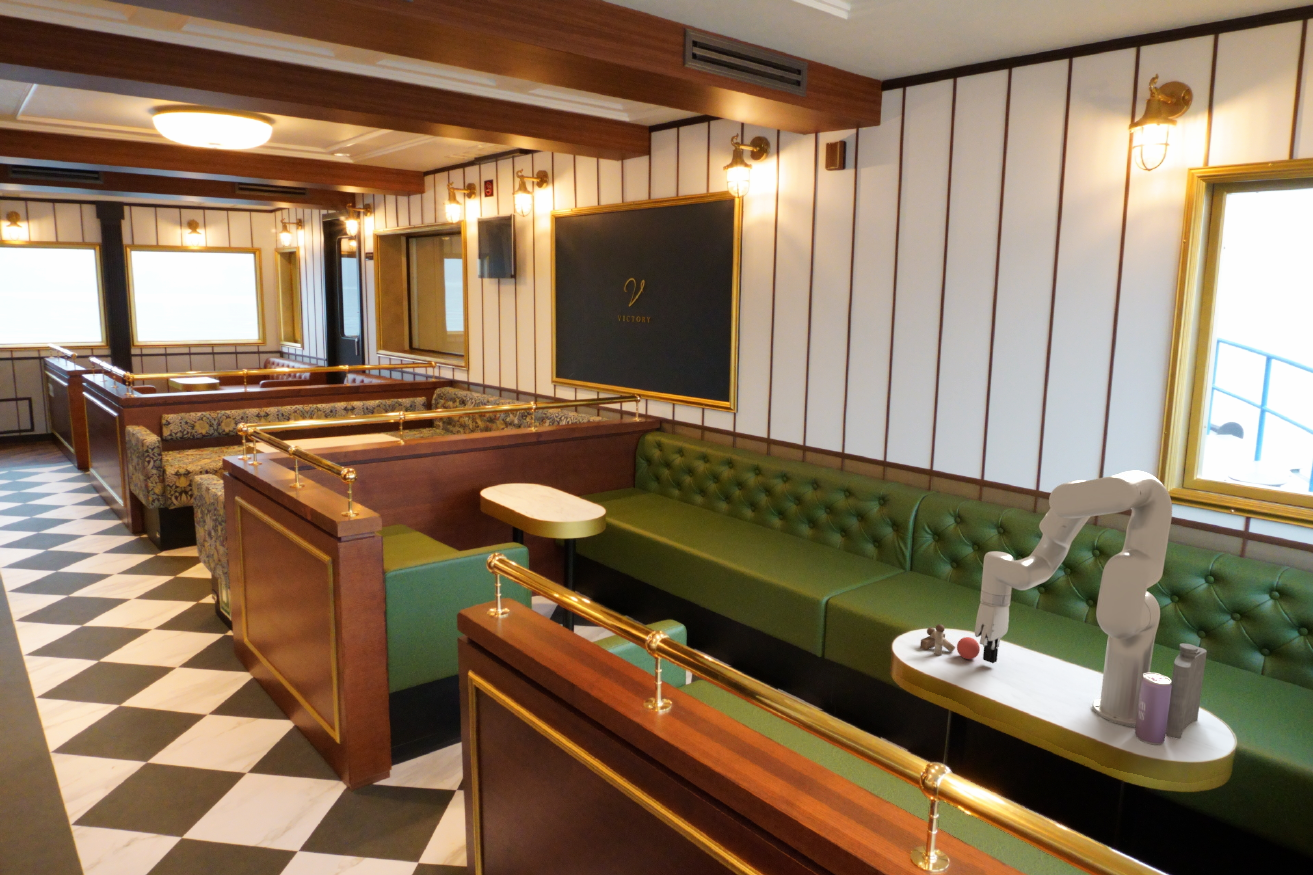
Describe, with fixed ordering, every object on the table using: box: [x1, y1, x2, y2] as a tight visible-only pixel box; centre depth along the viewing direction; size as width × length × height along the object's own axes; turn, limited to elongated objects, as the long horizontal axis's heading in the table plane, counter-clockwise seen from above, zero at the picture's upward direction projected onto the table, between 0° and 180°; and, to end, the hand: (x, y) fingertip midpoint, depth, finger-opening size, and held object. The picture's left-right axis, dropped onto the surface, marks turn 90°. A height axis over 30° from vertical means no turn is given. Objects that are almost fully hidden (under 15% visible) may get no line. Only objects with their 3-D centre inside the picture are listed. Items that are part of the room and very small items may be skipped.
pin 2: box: [926, 627, 956, 653], centre depth 235 cm, size 2×2×9 cm
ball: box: [956, 636, 981, 660], centre depth 229 cm, size 6×6×6 cm
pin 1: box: [933, 623, 945, 657], centre depth 231 cm, size 2×2×9 cm
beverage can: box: [1134, 672, 1172, 746], centre depth 186 cm, size 6×6×15 cm
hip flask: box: [1165, 642, 1207, 739], centre depth 193 cm, size 16×4×20 cm, turn 132°
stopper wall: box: [919, 632, 946, 651], centre depth 238 cm, size 2×10×2 cm, turn 130°
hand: (989, 660), depth 224 cm, fingers closed
